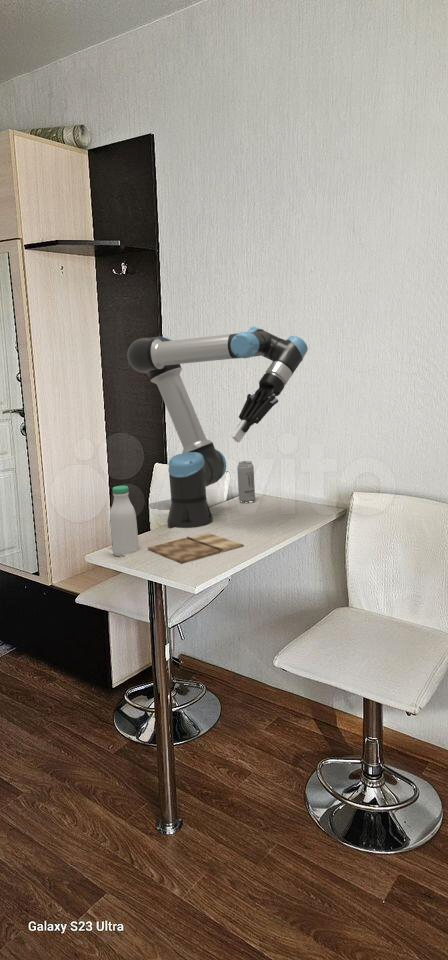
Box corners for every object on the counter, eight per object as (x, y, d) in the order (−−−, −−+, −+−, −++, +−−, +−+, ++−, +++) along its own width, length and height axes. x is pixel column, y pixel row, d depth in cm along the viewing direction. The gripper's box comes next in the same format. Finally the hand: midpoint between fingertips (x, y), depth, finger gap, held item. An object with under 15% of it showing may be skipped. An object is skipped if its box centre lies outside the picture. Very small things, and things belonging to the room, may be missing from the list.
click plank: (185, 542, 212) (148, 552, 205) (184, 538, 212) (147, 547, 204) (220, 555, 198) (181, 566, 190) (219, 550, 198) (181, 561, 190)
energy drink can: (247, 504, 257) (245, 464, 254) (235, 502, 261) (233, 462, 258) (258, 500, 261) (256, 461, 258) (246, 498, 265) (244, 460, 262)
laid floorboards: (186, 543, 213) (186, 537, 212) (208, 537, 217) (207, 531, 217) (221, 555, 198) (221, 549, 198) (244, 549, 203) (243, 543, 202)
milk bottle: (144, 552, 206) (139, 485, 202) (123, 558, 201) (117, 491, 197) (128, 547, 211) (123, 483, 207) (107, 554, 206) (101, 487, 202)
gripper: (295, 388, 215) (256, 448, 209) (268, 387, 226) (229, 445, 219) (282, 371, 211) (241, 433, 205) (254, 371, 222) (215, 430, 215)
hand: (235, 439), depth 212 cm, fingers closed
